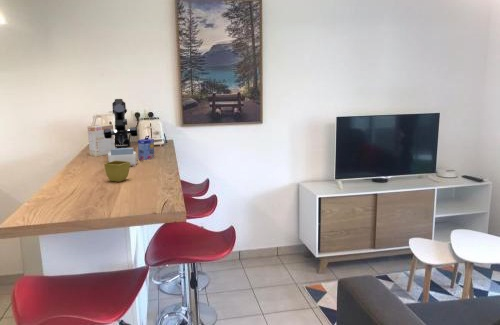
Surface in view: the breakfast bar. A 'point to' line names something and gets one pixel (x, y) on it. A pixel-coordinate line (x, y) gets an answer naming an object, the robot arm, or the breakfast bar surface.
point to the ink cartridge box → (146, 148)
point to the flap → (121, 151)
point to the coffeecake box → (100, 140)
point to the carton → (123, 158)
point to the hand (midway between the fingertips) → (121, 144)
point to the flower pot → (117, 170)
